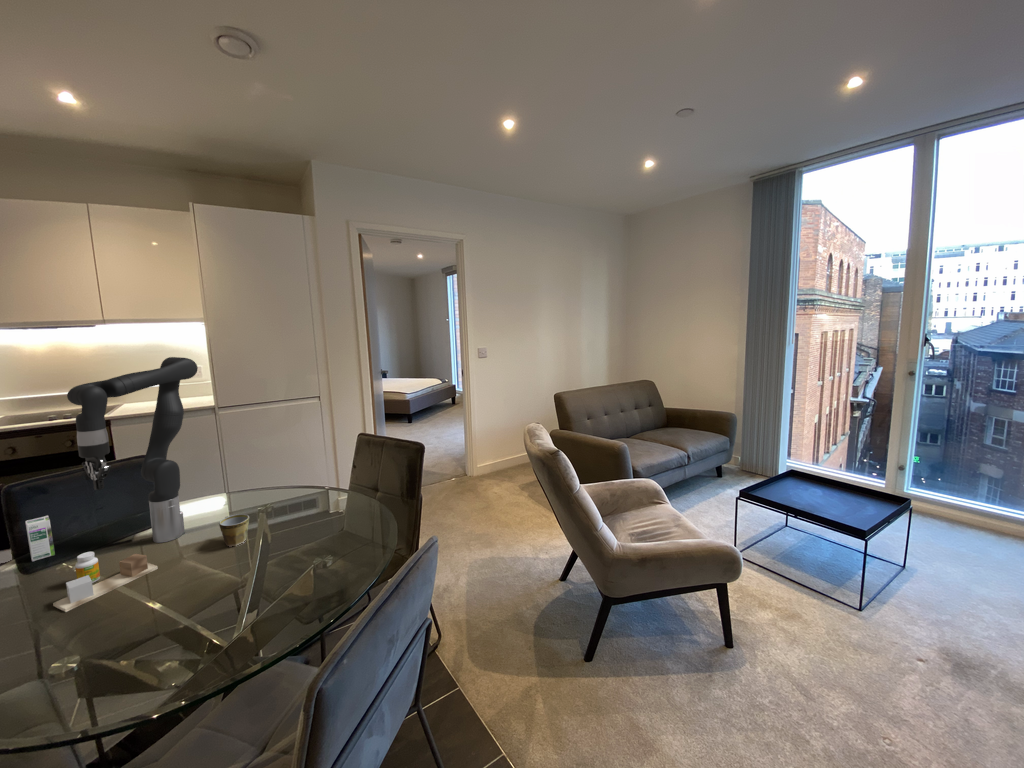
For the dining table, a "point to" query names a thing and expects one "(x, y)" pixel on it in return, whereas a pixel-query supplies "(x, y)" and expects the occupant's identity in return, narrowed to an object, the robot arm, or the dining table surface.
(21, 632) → the dining table surface
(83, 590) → the grey block
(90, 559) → the supplement bottle
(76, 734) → the dining table surface
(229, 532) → the ceramic cup
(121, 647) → the dining table surface
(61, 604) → the birch strip
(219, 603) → the dining table surface
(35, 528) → the syrup box
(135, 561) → the walnut block
